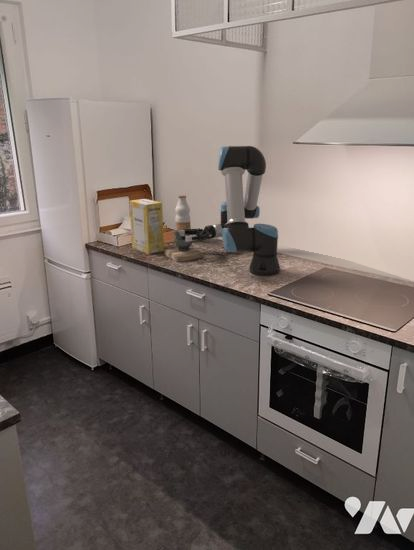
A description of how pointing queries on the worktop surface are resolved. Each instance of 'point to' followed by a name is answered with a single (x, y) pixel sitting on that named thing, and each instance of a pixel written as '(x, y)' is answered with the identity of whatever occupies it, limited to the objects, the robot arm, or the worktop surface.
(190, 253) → the block
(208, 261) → the worktop surface
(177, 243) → the mortar and pestle
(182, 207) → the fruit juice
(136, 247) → the pasta box
